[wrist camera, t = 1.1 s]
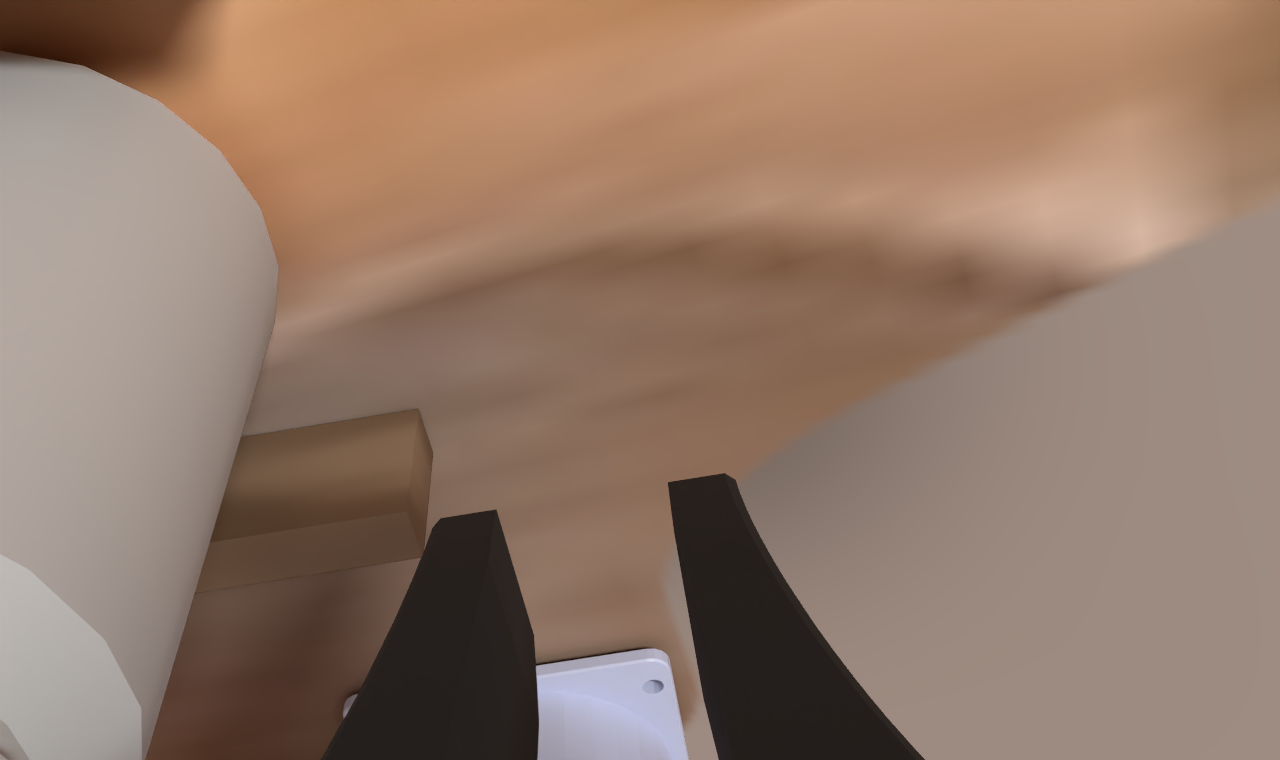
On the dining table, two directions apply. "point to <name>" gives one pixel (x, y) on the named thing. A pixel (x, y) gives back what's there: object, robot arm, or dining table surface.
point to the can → (112, 397)
